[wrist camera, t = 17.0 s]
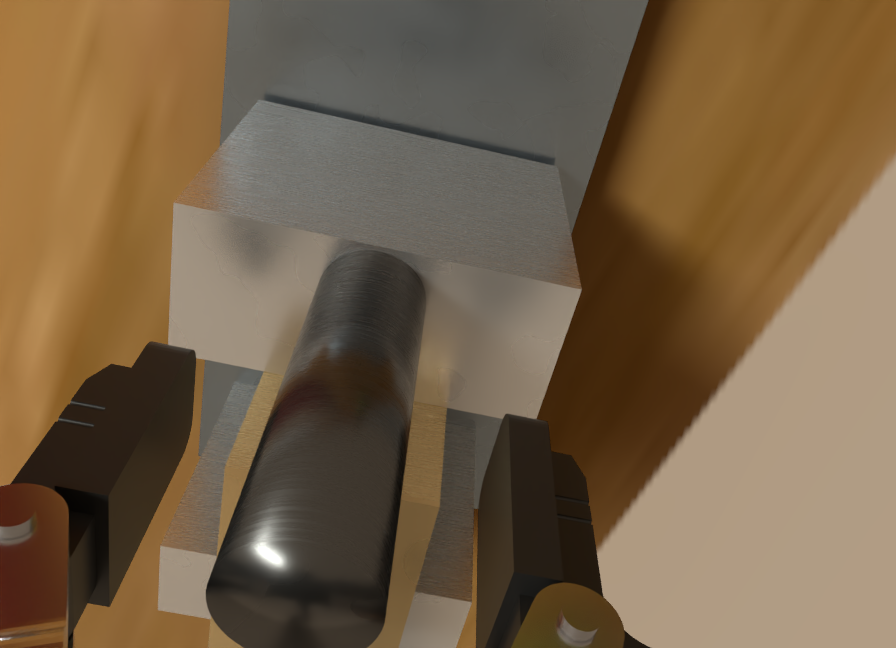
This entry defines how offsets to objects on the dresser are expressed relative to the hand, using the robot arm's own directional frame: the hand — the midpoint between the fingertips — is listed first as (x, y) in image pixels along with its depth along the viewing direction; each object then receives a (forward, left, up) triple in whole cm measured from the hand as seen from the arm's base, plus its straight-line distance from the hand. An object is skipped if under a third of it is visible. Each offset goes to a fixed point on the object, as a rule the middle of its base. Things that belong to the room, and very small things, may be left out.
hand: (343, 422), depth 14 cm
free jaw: (0, 0, -10) cm, 10 cm away
